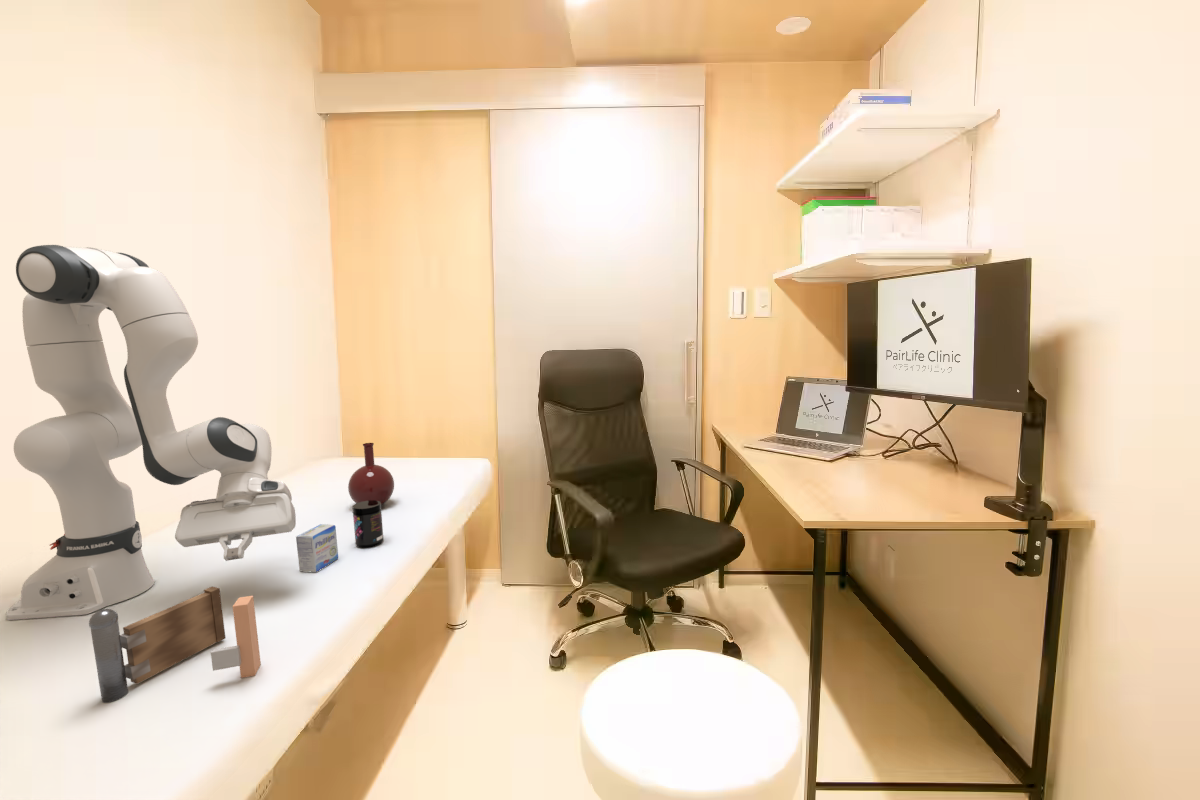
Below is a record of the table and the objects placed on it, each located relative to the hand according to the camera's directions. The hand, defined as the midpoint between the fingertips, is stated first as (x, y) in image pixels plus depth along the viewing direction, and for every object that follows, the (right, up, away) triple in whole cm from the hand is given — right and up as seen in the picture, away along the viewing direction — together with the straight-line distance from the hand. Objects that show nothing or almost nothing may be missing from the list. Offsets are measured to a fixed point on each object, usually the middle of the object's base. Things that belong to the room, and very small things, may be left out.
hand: (233, 558), depth 105 cm
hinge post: (-3, -14, -23) cm, 27 cm away
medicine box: (+5, -8, +22) cm, 24 cm away
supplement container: (+12, -6, +35) cm, 37 cm away
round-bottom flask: (0, -3, +64) cm, 65 cm away
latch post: (+13, -13, -18) cm, 26 cm away
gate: (+1, -13, -15) cm, 19 cm away
